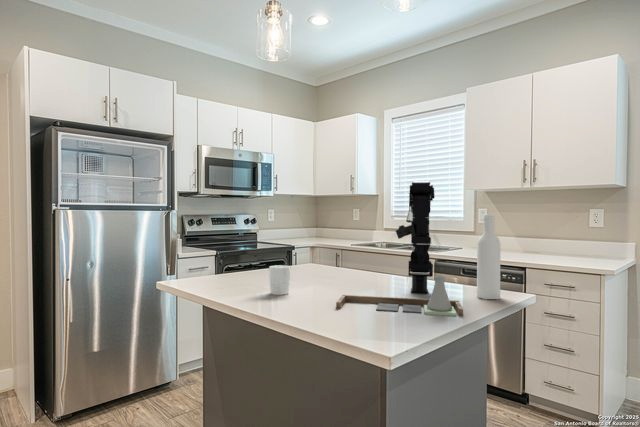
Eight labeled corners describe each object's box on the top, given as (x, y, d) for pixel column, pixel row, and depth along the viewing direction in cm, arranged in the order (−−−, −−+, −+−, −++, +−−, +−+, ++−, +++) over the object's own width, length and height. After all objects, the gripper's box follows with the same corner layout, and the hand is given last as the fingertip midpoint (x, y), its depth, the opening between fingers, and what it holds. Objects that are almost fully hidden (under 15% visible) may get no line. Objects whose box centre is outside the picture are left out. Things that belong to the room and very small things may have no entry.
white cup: (278, 290, 160) (278, 264, 160) (294, 293, 155) (294, 266, 155) (264, 293, 153) (264, 266, 153) (280, 296, 149) (280, 268, 149)
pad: (423, 307, 132) (423, 304, 132) (453, 309, 131) (453, 306, 131) (424, 314, 124) (424, 311, 124) (456, 316, 122) (456, 313, 122)
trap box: (342, 300, 142) (342, 294, 142) (458, 306, 133) (458, 300, 133) (336, 308, 130) (336, 302, 130) (463, 316, 122) (463, 309, 122)
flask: (456, 310, 126) (457, 277, 126) (438, 312, 122) (438, 278, 122) (439, 305, 132) (440, 274, 132) (422, 307, 129) (422, 275, 129)
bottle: (483, 300, 144) (483, 214, 144) (472, 295, 152) (473, 214, 152) (504, 299, 145) (505, 214, 145) (493, 295, 153) (494, 214, 153)
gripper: (397, 217, 154) (397, 259, 154) (395, 217, 136) (395, 265, 136) (428, 217, 151) (428, 260, 151) (431, 218, 133) (430, 266, 133)
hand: (420, 262), depth 143 cm, fingers open, 9 cm apart
